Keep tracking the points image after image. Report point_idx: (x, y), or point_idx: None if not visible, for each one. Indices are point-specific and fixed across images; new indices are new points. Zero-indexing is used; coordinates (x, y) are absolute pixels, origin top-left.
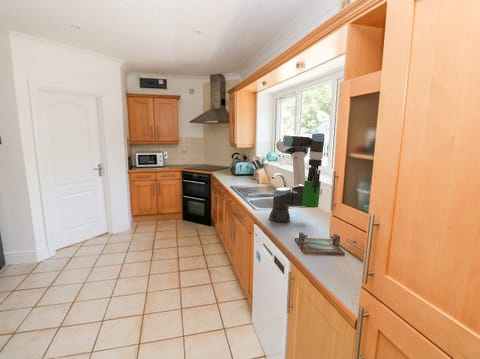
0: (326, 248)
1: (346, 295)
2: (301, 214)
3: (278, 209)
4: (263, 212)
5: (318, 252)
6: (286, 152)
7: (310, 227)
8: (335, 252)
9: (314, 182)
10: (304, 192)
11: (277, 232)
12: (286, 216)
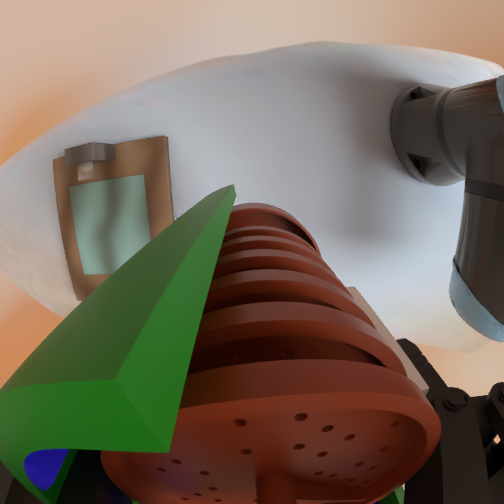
0: (82, 248)
1: None
2: None
3: (439, 103)
4: None
5: (59, 211)
6: None
7: (342, 258)
8: (69, 270)
9: (10, 476)
10: (190, 213)
11: (254, 72)
12: (416, 152)
